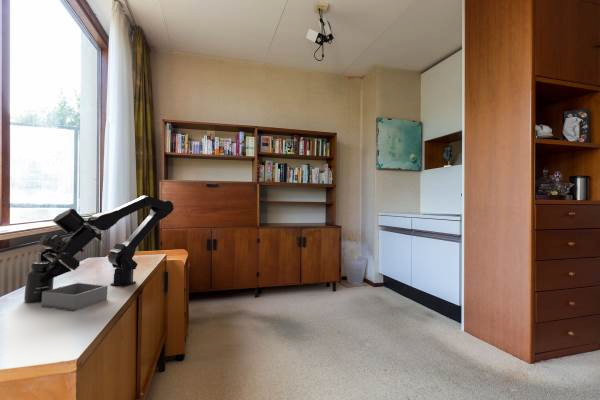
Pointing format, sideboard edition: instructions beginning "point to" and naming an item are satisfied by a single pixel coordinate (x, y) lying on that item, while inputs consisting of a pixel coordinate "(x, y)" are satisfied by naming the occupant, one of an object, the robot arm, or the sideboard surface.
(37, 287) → the supplement bottle
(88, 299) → the open box
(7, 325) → the sideboard surface
